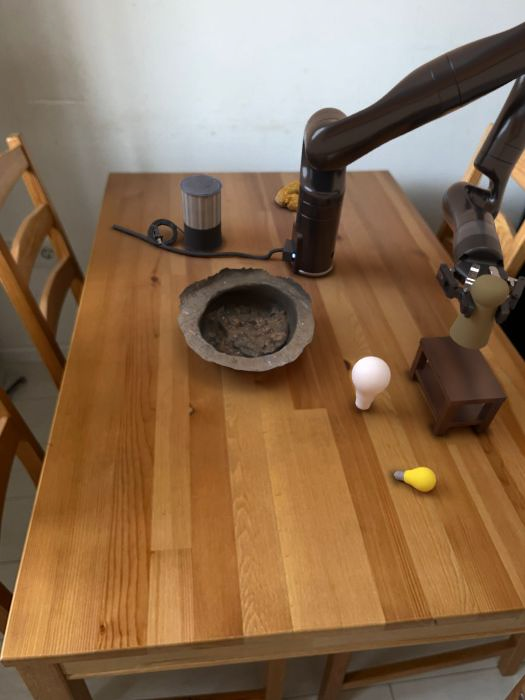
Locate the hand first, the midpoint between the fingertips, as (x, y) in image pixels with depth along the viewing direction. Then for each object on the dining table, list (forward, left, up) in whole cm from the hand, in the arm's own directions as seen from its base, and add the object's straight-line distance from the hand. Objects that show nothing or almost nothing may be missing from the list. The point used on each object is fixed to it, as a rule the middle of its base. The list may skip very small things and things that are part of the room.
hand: (485, 316), depth 75 cm
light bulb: (-11, -15, -20) cm, 27 cm away
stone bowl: (-33, +17, -20) cm, 42 cm away
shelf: (0, 0, -20) cm, 20 cm away
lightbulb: (-15, 0, -20) cm, 25 cm away
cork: (+1, +3, -7) cm, 7 cm away
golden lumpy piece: (-15, +69, -20) cm, 73 cm away
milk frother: (-44, +52, -20) cm, 71 cm away
